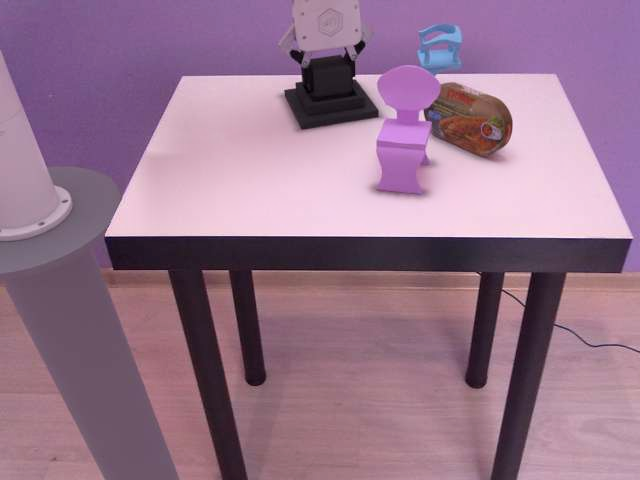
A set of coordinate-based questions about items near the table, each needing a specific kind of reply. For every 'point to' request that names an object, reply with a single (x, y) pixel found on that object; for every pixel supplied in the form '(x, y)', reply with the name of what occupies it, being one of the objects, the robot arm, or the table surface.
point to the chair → (440, 58)
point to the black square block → (331, 75)
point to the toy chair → (405, 126)
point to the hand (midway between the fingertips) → (329, 83)
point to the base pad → (329, 106)
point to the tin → (470, 119)
